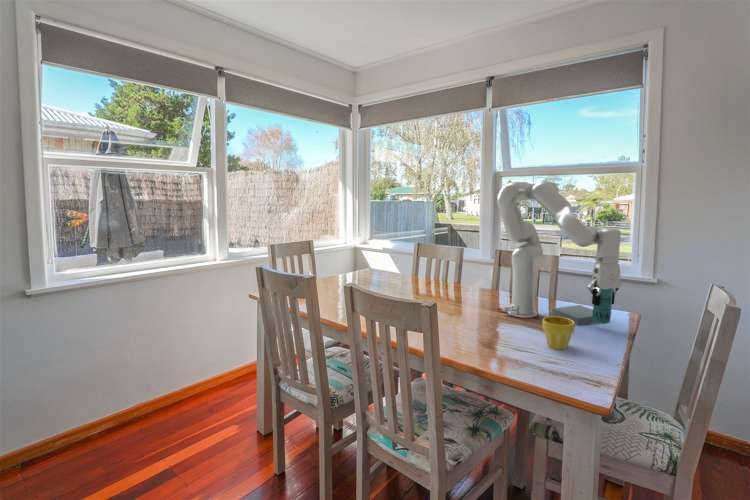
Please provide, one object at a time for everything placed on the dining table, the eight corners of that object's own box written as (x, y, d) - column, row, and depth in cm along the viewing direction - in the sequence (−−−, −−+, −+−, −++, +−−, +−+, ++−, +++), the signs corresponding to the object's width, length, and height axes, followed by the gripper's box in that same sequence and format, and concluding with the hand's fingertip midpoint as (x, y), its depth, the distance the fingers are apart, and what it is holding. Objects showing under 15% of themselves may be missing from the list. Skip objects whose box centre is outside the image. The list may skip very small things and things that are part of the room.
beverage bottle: (587, 322, 163) (592, 274, 160) (603, 321, 164) (608, 274, 160) (598, 327, 157) (602, 278, 153) (613, 327, 157) (619, 277, 154)
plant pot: (560, 354, 137) (561, 327, 136) (535, 344, 147) (536, 318, 145) (579, 348, 142) (581, 322, 141) (554, 339, 151) (555, 314, 150)
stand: (577, 325, 166) (577, 318, 165) (552, 314, 180) (552, 308, 179) (606, 321, 170) (606, 314, 169) (579, 311, 184) (579, 305, 184)
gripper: (597, 263, 150) (592, 308, 153) (632, 260, 155) (628, 304, 158) (581, 259, 157) (577, 303, 160) (616, 257, 162) (612, 299, 165)
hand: (602, 303), depth 159 cm, fingers closed on beverage bottle, 6 cm apart
